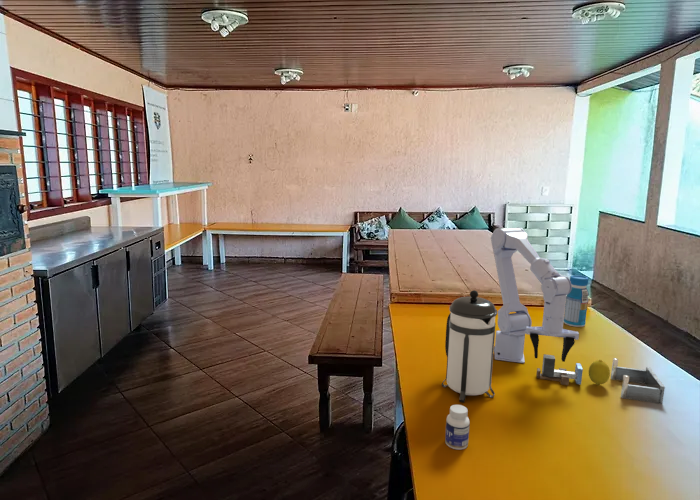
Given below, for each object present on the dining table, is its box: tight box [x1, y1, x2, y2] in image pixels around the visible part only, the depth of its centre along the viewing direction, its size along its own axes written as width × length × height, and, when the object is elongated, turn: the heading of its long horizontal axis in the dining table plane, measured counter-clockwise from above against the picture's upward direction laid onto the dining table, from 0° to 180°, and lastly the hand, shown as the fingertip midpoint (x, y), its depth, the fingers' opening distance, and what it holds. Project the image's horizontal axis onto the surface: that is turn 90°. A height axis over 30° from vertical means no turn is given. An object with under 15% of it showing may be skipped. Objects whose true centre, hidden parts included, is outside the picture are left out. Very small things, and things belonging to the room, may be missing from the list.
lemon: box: [588, 359, 611, 386], centre depth 141 cm, size 6×6×8 cm
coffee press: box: [441, 289, 498, 403], centre depth 134 cm, size 17×16×30 cm
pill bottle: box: [444, 404, 470, 450], centre depth 110 cm, size 5×5×9 cm
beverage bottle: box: [563, 274, 590, 328], centre depth 194 cm, size 8×8×20 cm
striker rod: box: [541, 354, 584, 386], centre depth 144 cm, size 11×4×7 cm, turn 73°
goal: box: [610, 357, 666, 404], centre depth 138 cm, size 10×14×6 cm
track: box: [536, 367, 570, 386], centre depth 145 cm, size 9×6×2 cm
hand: (549, 358), depth 144 cm, fingers open, 7 cm apart
